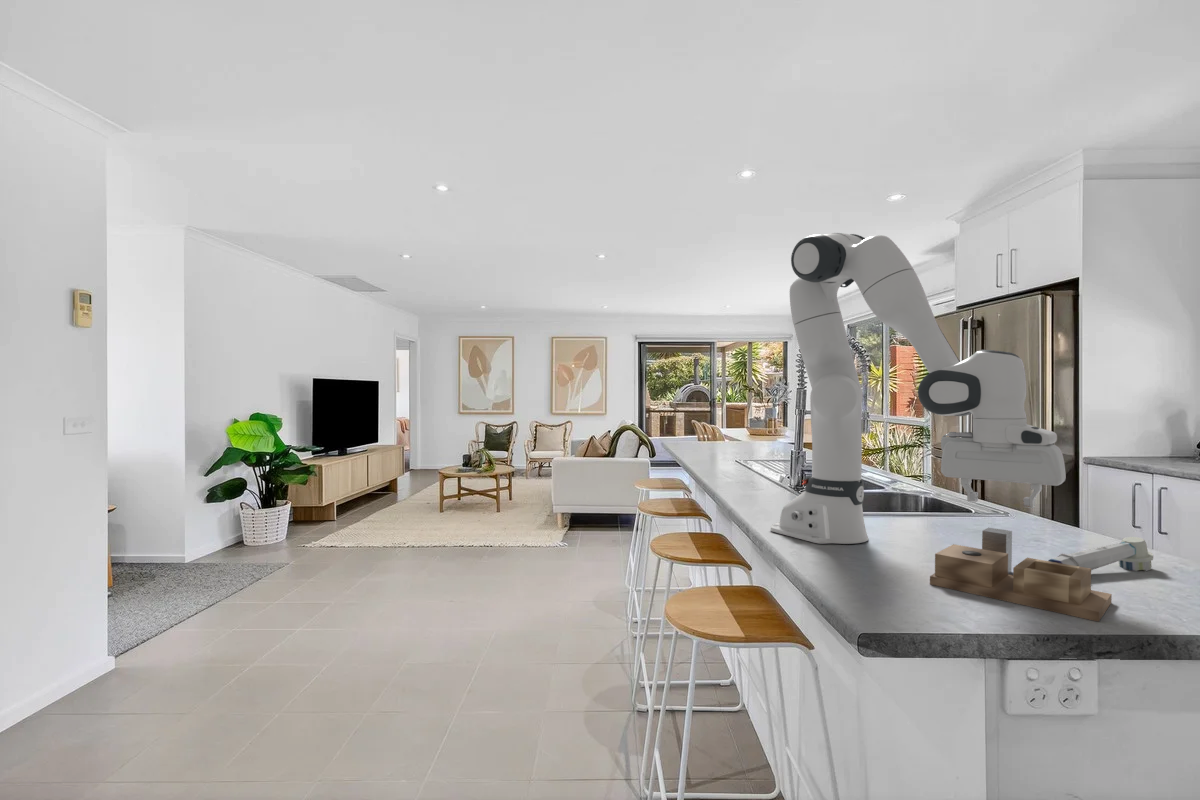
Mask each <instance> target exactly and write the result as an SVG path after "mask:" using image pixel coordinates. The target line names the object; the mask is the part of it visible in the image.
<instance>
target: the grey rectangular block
mask: <svg viewBox="0 0 1200 800" xmlns="http://www.w3.org/2000/svg"><path fill="white" fill-rule="evenodd" d="M981 539H982V540H981V541H982V542H981V549H984V550H990V551H996V552H1002V553H1007V554H1008V574H1011V573H1012V565H1013V564H1012V561H1013V560H1012V559H1013V558H1012V554H1013V553H1012V552H1013V551H1012V550H1013V530H1007V529H1001V528H995V527H987V528H985V529H983V530H982V534H981Z"/></svg>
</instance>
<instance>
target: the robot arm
mask: <svg viewBox="0 0 1200 800" xmlns="http://www.w3.org/2000/svg"><path fill="white" fill-rule="evenodd" d="M790 265H791V268H792V271H793V273H794V274H795V275H796V276H797V277H798V278H797V279H796V280H794V281H793V282H792V284H791V285H790V287H789V307H790V312H791V318H792V323H793V327H794V331H795V335H796V338H797V339H796V340H797V343H798V347H799V351H800V356H801V359H802V361H803V365H804V367H805V368H804V369H805V370H806V374H807V376H808V380H809V383H810V386H811V391H810V395H809V396H810V397H809V399H810V401H809V402H810V426H811V428H810V429H811V447H812V448H811V449H812V451H811V453H812V455H811V456H812V457H811V467H812V468H811V476H809V477H807V478H806V479H802V480H801V482H802V483H801V486H804V485H805V489H804V491H803V492H802V493H800V494H799V495H797V496H796V497H794V498H793V499H791V500H790V501H788V502H786V503H785V504H784V506H783V507H782V509H781V513H780V516H779V517H780V518H779V522H775V523H774V524H772V525H771V526H770V532H772V533H777V534H780V535H785V536H788V537H791V538H796V539H800V540H803V541H807V542H811V543H814V544H821V545H822V544H840V545H841V544H843V545H845V544H847V545H848V544H849V545H850V544H860V543H865V542H867V541H869V536H868V533H867V528H866V523H865V518H864V512H863V511H864V510H863V503H864V494H865V489H864V488H865V487H864V479H863V478H862V469H863V468H862V457H863V455H862V453H863V449H862V447H863V445H862V444H863V443H862V440H863V438H862V436H863V435H862V430H863V429H862V425H863V424H862V422H863V421H862V415H863V414H862V411H863V410H862V405H863V397H864V396H863V395H864V394H863V390H862V387H861V383H860V380H859V375H858V372H857V367H856V364H855V360H854V357H853V353H852V350H851V345H850V343H849V338H848V333H847V331H846V328H845V322H844V319H843V315H842V311H841V309H840V304H839V300H838V292H839V289H840V287H841V288H847V287H849V286H850V285H851V284H853V283H854V282H855V284H856V285H857V288H858V290H859V291H860V293H861V295H862V297H863V299H864V301H865V303H866V305H867V306H868V307H869V309H870V311H872V313H873V314H874V315H875V317H876V318H877V319H878V320H879V321H880V322H881V323H882V324H884V325H886V326H887V327H889V328H891V329H893V330H894V331H896V332H898V333H899V334H900V335H902V336H903V337H904V338H905V339H907V340H908V342H909V343H910V344H911V346H912V347H913V348H914V350H915V352H916V354H917V355H918V357H919V359H920V360H921V362H922V363H923V365H924V367H925V369H926V370H927V372H928V374H927V375H925V376H924V377H923V378H921V379H922V380H921V381H920V382H919V385H918V388H917V396H918V399H919V402H920V404H921V405H922V407H923V408H924V409H925V410H926V411H928V412H930V413H931V414H934V415H937V416H943V417H945V416H946V417H950V416H951V417H952V416H954V417H965V416H969V415H971V416H972V420H971V421H972V431H970V432H969V431H964V432H963V431H961V432H957V431H948V433H945V434H943V436H942V437H941V438H940V447H941V448H940V449H941V451H942V454H941V461H940V472H941V474H942V475H943V476H944V478H945V477H946V478H955V479H960V485H961V486H962V488H963V490H964V491H965V492H966V494H967V495H966V496H967V497H966V498H967V500H966V501H967V502H972V503H973V502H974V503H977V502H979V492H977V491H974V490H973V488H972V487H971V484H972V480H980V481H981V480H982V481H992V482H1005V483H1015V484H1016V483H1018V484H1028V485H1029V486H1030V490H1032V493H1031V494H1030V496H1025V497H1023V500H1022V501H1023V508H1029V509H1034V508H1035V506H1036V498H1037V496H1038V495H1039V494H1040V492H1041V491H1042V490H1043V485H1044V486H1052V487H1053V486H1054V487H1055V486H1056V487H1058V486H1060V485H1062V484H1063V483H1064V482H1066V479H1067V478H1066V476H1067V475H1066V474H1067V473H1066V463H1065V460H1064V459H1065V458H1064V455H1063V451H1062V450H1061V448H1060V447H1059V446H1057V445H1056V444H1055V443H1056V442H1058V435H1057V432H1054V431H1051V430H1049V429H1045V428H1042V427H1038V426H1034V425H1031V424H1028V422H1027V421H1028V419H1027V418H1028V417H1027V413H1026V410H1025V402H1026V398H1027V394H1028V393H1027V377H1026V369H1025V364H1024V362H1023V359H1022V357H1020V356H1019V355H1018V354H1015V353H1013V352H1010V351H1004V350H995V349H994V350H992V349H980V350H976V351H975V352H974V353H973V354H972V355H970V356H969V357H967V358H965V359H963V360H960V358H959V357H958V356H957V354H956V353H955V351H954V349H953V348H952V346H951V344H950V343H949V341H948V339H947V338H946V336H945V334H944V333H943V331H942V329H941V328H940V326H939V324H938V322H937V320H936V317H935V314H934V313H933V311H932V310H933V309H932V307H931V306H930V303H929V299H928V297H927V295H926V292H925V290H924V288H923V285H922V283H921V281H920V279H919V276H918V274H917V273H916V270H915V269H914V268H913V266H912V264H911V263H910V260H908V258H907V257H906V255H905V254H904V253H903V251H902V250H901V248H899V247H898V245H897V244H896V242H894V241H893V240H892V239H891V238H890V237H888V236H886V235H880V234H879V235H878V234H877V235H873V236H872V235H871V236H869V237H864V236H862V235H859V234H855V233H842V232H832V233H826V234H821V233H819V234H817V233H816V234H812V235H811V234H810V235H809V236H806V237H803V238H802V239H801V240H798V242H797V243H796V244H795V246H794V247H793V250H792V252H791V256H790Z"/></svg>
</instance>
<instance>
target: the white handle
mask: <svg viewBox="0 0 1200 800" xmlns="http://www.w3.org/2000/svg"><path fill="white" fill-rule="evenodd" d="M1153 560H1154V554H1153V553H1152V552H1150V551H1149V550H1148V546H1147V542H1146V540H1145V539H1144V538H1142V537H1139V536H1126V537H1123V538H1122V539H1121V542H1117V543H1114V544H1113V543H1112V544H1108V545H1104V546H1103V545H1102V546H1099V547H1096V548H1094V547H1093V548H1091V549H1086V550H1081V551H1077V552H1071V553H1063V552H1062V553H1060V554H1059V555H1058V556H1056V557H1053V558H1050V559H1048V560H1047V561H1050V562H1056V563H1062V564H1067V565H1073V566H1079V567H1085V568H1090V569H1091V571H1094V570H1097V569H1099V568H1102V567H1105V566H1109V565H1111V564H1115V563H1118V567H1119V568H1122V569H1125V570H1129V571H1134V572H1138V571H1143V572H1148V571H1151V570H1152V561H1153Z"/></svg>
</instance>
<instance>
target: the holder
mask: <svg viewBox="0 0 1200 800" xmlns="http://www.w3.org/2000/svg"><path fill="white" fill-rule="evenodd" d="M929 585H932V586H937V587H940V588H945V589H949V590H954V591H959V592H962V593H967V594H968V593H969V594H972V595H976V596H982V597H984V598H985V597H986V598H991V599H995V600H999V601H1004V602H1008V603H1013V604H1018V605H1021V606H1027V607H1031V608H1035V609H1040V610H1045V611H1050V612H1053V613H1057V614H1063V615H1067V616H1072V617H1075V618H1081V619H1085V620H1090V621H1093V622H1094V621H1095V622H1100V621H1101V619H1102V618H1103V616H1104V614H1105V613H1106V612H1107V610H1108V608H1109V607H1110V606H1111V605H1112V599H1113V598H1112V595H1113V594H1112V593H1108V592H1104V591H1099V590H1093V589H1092V570H1091V569H1090V568H1085V567H1079V566H1073V565H1067V564H1062V563H1056V562H1050V561H1048V560H1043V559H1038V558H1037V559H1036V558H1034V557H1033V558H1031V557H1026V558H1025V559H1023V560H1021V562H1019V563H1018V564H1016V565H1015V566H1014V567H1013V573H1012V574H1011V573H1009V574H1008V554H1007V553H1002V552H996V551H990V550H984V549H982V548H979V547H978V548H977V547H972V546H965V545H959V544H954V543H953V544H951V545H949V546H948V547H946V548H944V549H942V550H940V551H938V552H935V554H934V573H933V574H931V575H929Z"/></svg>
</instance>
